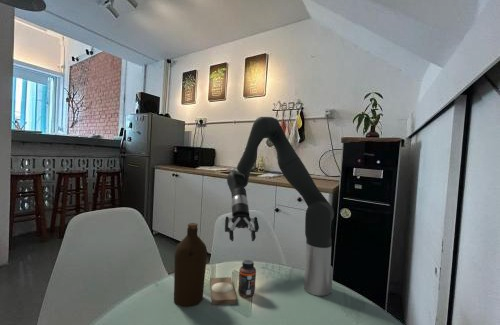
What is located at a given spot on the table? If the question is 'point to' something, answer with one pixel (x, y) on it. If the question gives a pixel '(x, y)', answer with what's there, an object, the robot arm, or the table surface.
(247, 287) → the supplement bottle
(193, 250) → the olive oil
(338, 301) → the table surface
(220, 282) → the board
